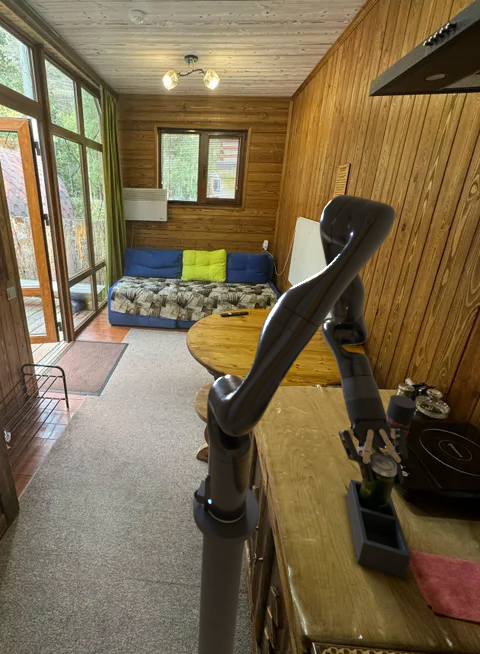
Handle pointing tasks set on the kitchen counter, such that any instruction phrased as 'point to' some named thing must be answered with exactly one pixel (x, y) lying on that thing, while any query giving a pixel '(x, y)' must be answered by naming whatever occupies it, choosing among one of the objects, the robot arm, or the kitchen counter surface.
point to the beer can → (378, 483)
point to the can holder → (377, 535)
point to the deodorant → (400, 413)
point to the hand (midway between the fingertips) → (384, 483)
